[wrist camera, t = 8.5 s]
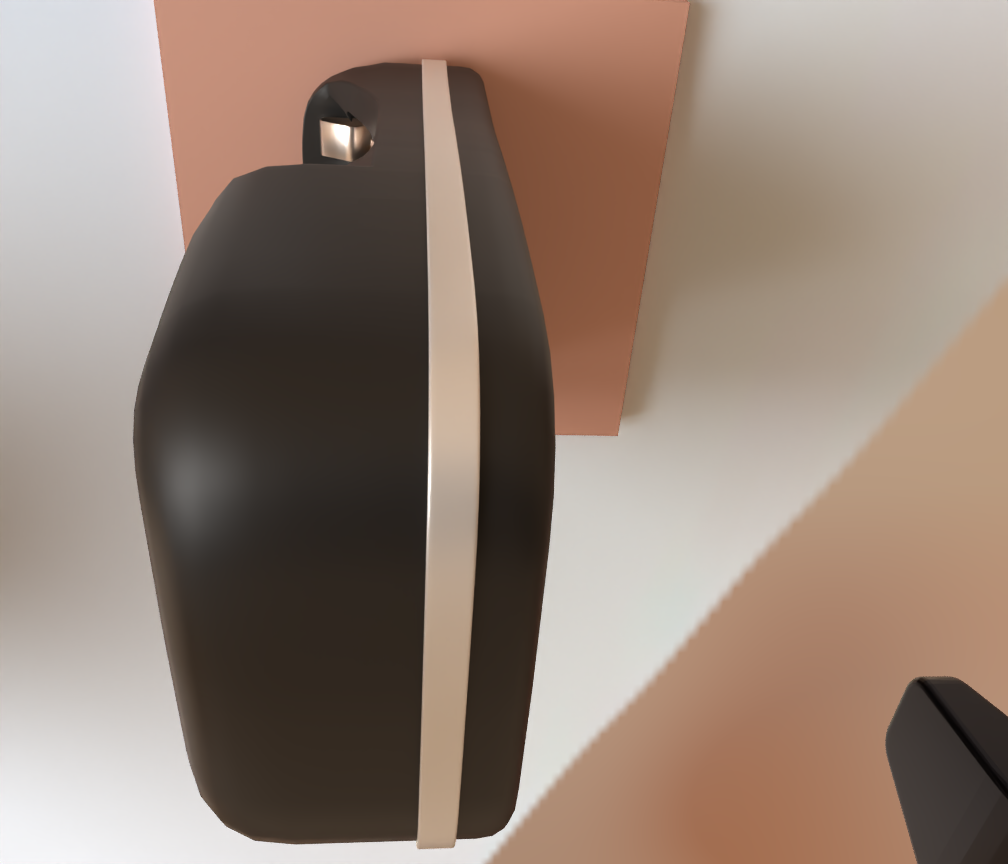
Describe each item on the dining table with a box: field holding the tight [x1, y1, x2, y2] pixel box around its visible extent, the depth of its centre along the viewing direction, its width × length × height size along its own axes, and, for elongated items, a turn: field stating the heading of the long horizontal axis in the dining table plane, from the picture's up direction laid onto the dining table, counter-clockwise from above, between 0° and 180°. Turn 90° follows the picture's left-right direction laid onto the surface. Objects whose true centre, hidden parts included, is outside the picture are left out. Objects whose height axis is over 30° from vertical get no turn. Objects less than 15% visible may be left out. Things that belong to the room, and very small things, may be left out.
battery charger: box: [133, 59, 555, 849], centre depth 13 cm, size 7×4×11 cm, turn 176°
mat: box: [154, 0, 690, 436], centre depth 18 cm, size 9×9×1 cm
